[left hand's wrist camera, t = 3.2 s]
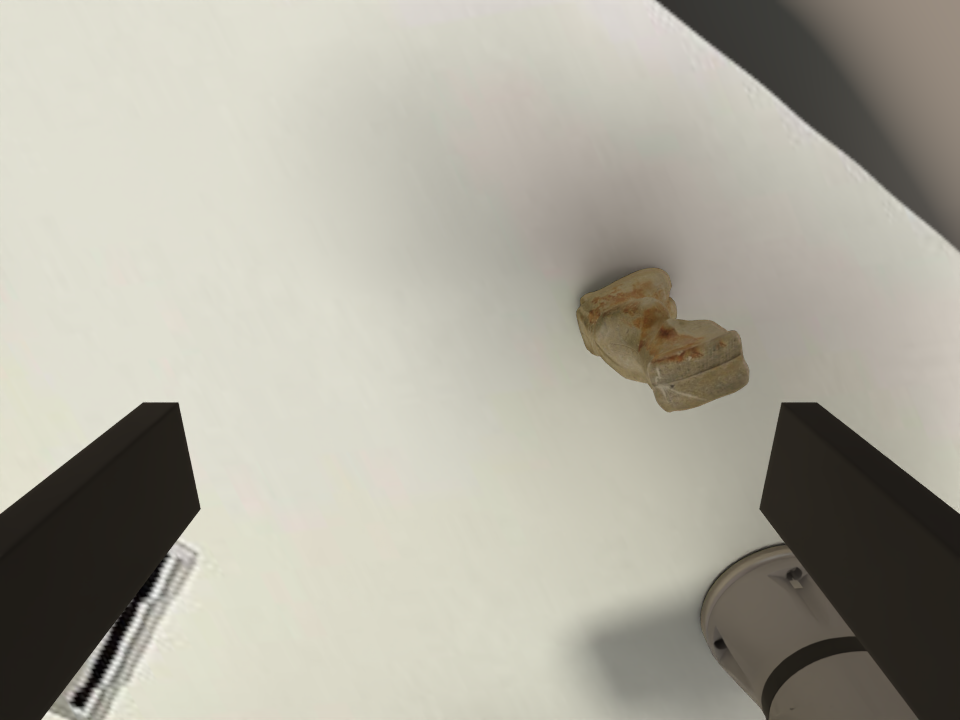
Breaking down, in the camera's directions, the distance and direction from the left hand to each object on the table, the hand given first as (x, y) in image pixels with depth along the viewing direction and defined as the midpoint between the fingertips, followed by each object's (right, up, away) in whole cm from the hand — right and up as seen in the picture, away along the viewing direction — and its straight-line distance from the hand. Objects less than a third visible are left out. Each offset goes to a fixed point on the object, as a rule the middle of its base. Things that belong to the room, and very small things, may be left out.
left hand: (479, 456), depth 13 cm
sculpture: (+10, +6, +31) cm, 33 cm away
